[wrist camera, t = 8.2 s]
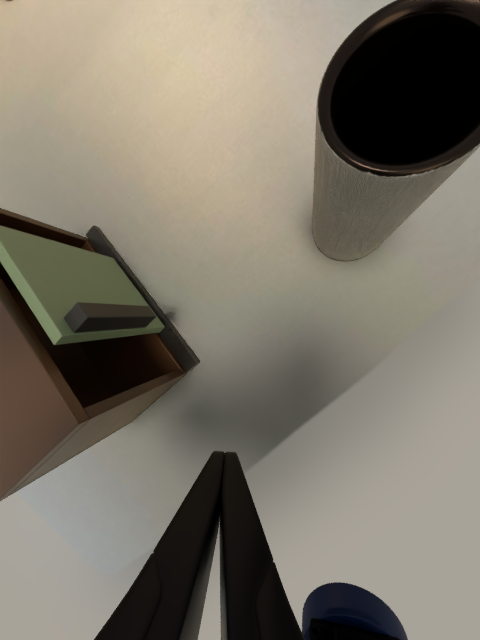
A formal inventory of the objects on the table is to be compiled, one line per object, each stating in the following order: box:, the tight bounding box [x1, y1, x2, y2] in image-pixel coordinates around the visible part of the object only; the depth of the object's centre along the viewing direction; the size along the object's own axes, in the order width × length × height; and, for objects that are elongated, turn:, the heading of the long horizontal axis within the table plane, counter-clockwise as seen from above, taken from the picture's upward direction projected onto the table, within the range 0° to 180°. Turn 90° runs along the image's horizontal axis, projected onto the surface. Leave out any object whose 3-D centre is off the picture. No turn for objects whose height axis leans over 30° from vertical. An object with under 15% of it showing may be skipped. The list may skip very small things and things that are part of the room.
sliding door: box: [0, 226, 165, 345], centre depth 16 cm, size 8×2×8 cm, turn 41°
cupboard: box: [0, 208, 200, 501], centre depth 17 cm, size 15×9×10 cm, turn 41°
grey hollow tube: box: [312, 0, 480, 261], centre depth 11 cm, size 4×4×10 cm
